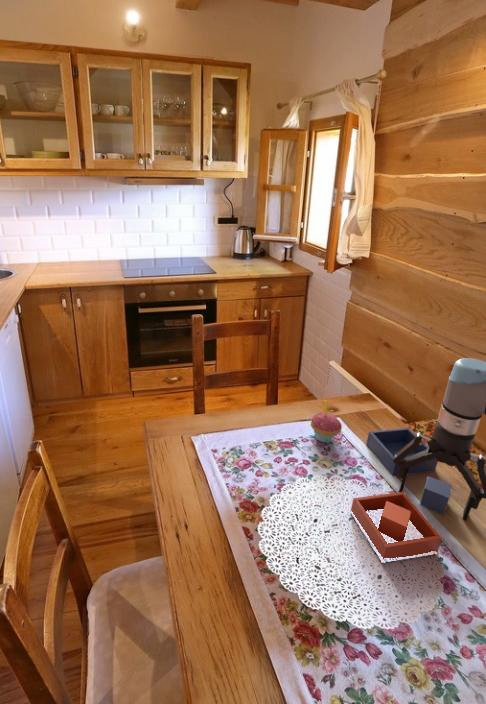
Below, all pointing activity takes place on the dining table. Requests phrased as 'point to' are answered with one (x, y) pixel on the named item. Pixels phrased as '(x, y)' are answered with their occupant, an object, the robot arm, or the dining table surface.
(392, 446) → the slate bin
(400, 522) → the terracotta block
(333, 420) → the cupcake
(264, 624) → the dining table surface
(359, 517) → the terracotta bin
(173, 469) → the dining table surface
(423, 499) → the slate block
